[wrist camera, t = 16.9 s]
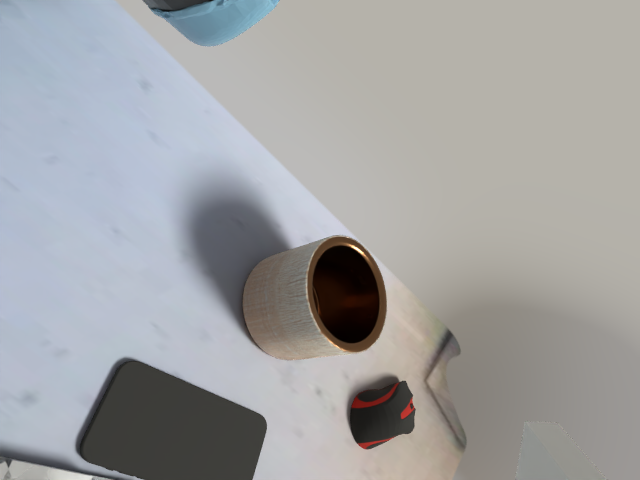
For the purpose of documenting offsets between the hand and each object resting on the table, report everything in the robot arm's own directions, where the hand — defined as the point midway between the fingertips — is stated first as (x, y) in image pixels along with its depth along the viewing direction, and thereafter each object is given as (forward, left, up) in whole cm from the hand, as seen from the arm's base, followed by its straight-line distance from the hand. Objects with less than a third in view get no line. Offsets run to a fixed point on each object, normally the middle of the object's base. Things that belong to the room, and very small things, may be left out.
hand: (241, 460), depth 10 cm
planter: (-16, +19, -27) cm, 36 cm away
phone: (-2, +13, -27) cm, 30 cm away
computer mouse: (-10, +36, -27) cm, 46 cm away
